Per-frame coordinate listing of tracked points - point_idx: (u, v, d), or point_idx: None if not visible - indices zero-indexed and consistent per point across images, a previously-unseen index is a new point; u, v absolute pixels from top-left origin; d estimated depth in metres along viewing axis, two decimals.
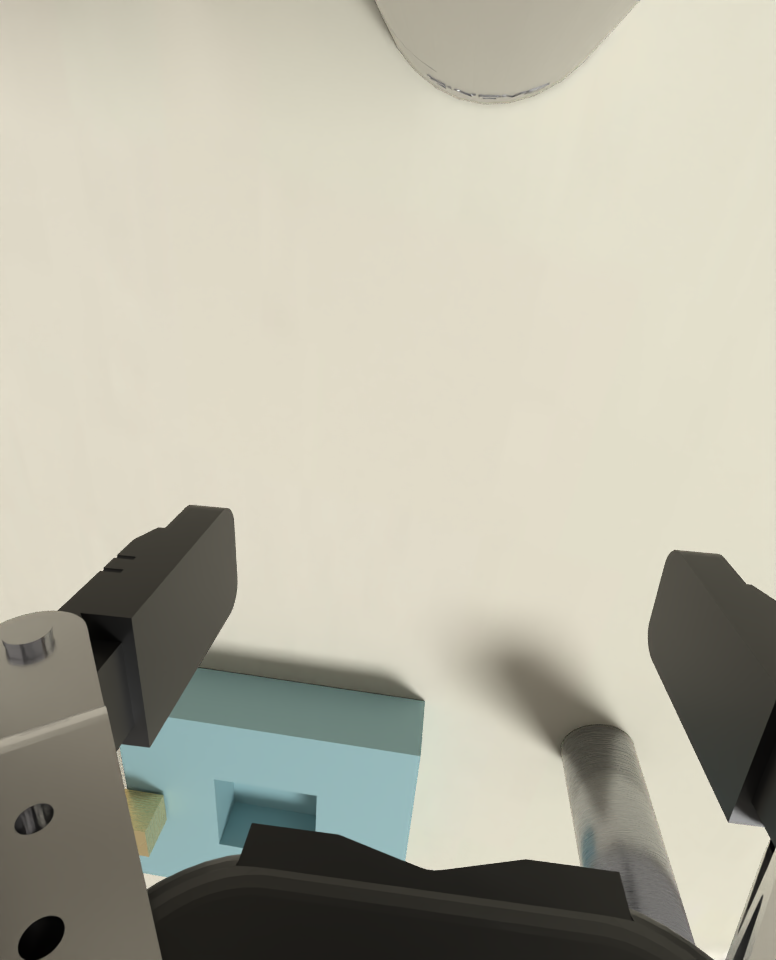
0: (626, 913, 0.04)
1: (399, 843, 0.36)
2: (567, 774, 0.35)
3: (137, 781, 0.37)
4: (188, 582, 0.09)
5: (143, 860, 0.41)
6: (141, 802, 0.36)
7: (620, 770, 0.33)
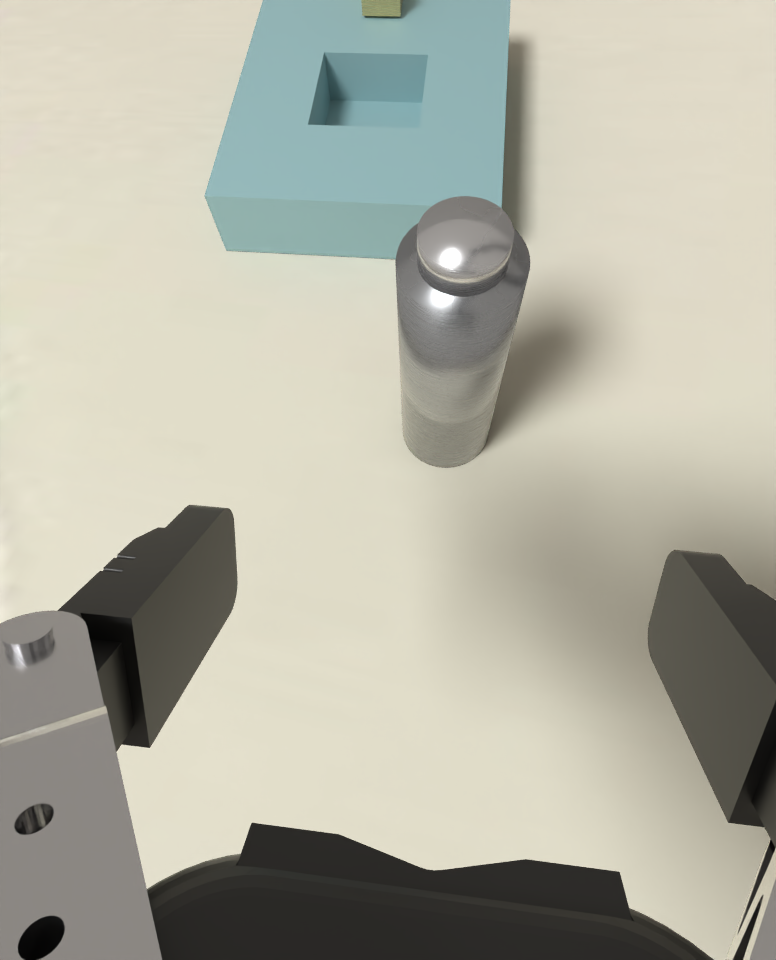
0: (626, 913, 0.04)
1: (349, 195, 0.31)
2: None
3: (413, 3, 0.38)
4: (188, 582, 0.09)
5: None
6: None
7: None
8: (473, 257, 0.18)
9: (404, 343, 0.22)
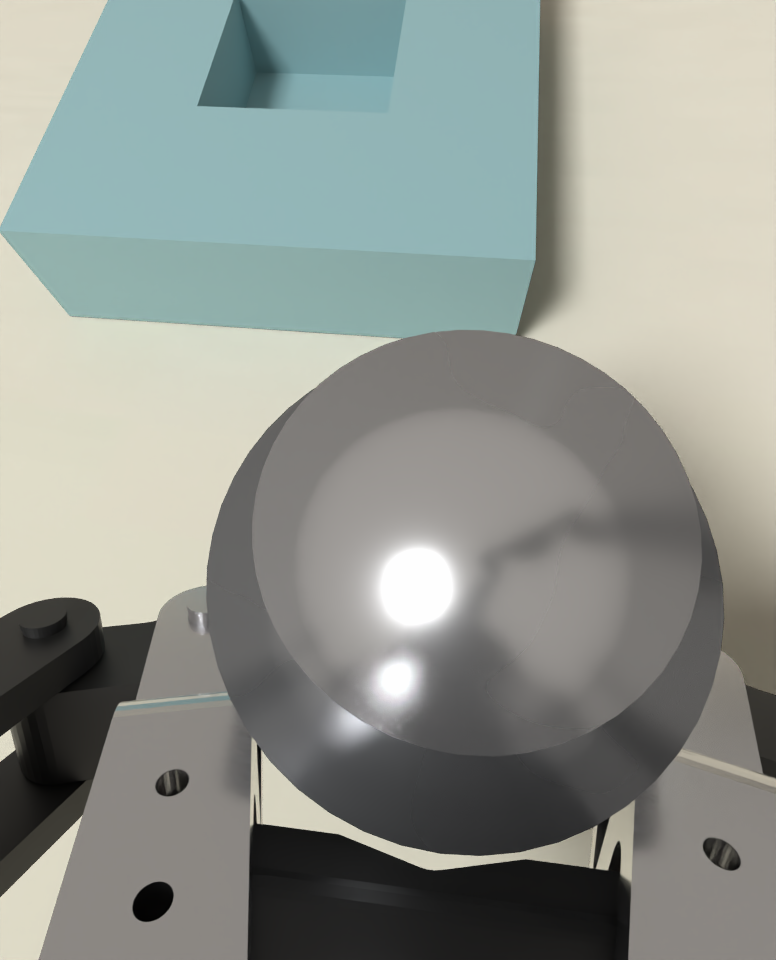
0: None
1: (257, 232, 0.17)
2: None
3: None
4: None
5: None
6: None
7: None
8: (513, 669, 0.04)
9: None
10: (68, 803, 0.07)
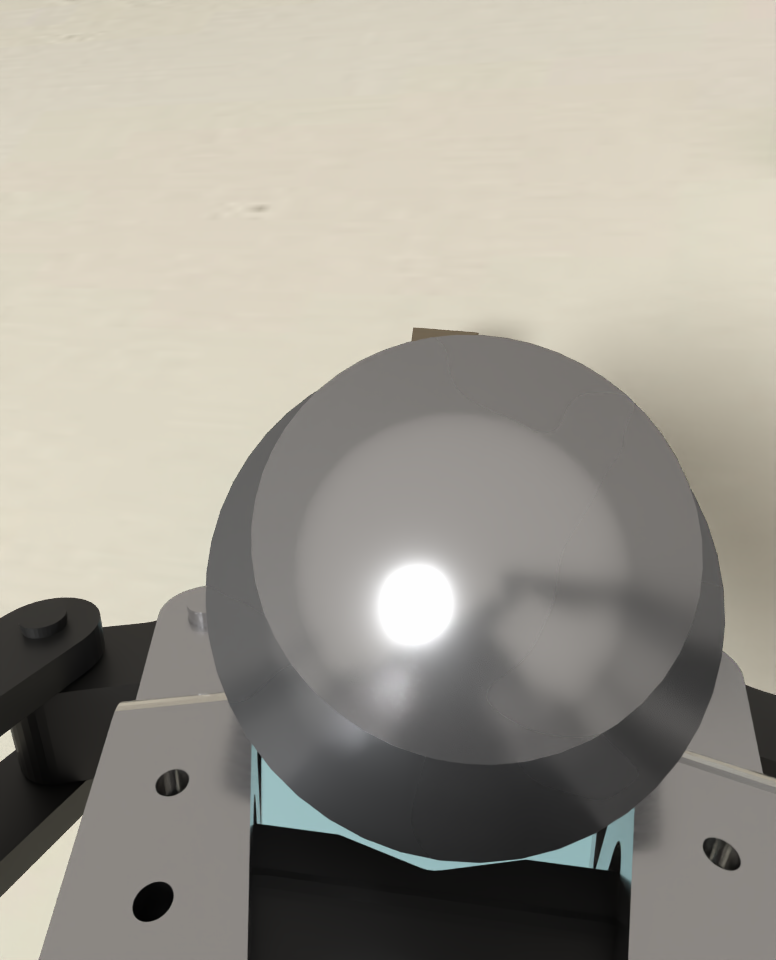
0: None
1: (390, 850, 0.23)
2: None
3: None
4: None
5: None
6: None
7: None
8: (513, 677, 0.04)
9: None
10: (68, 803, 0.07)
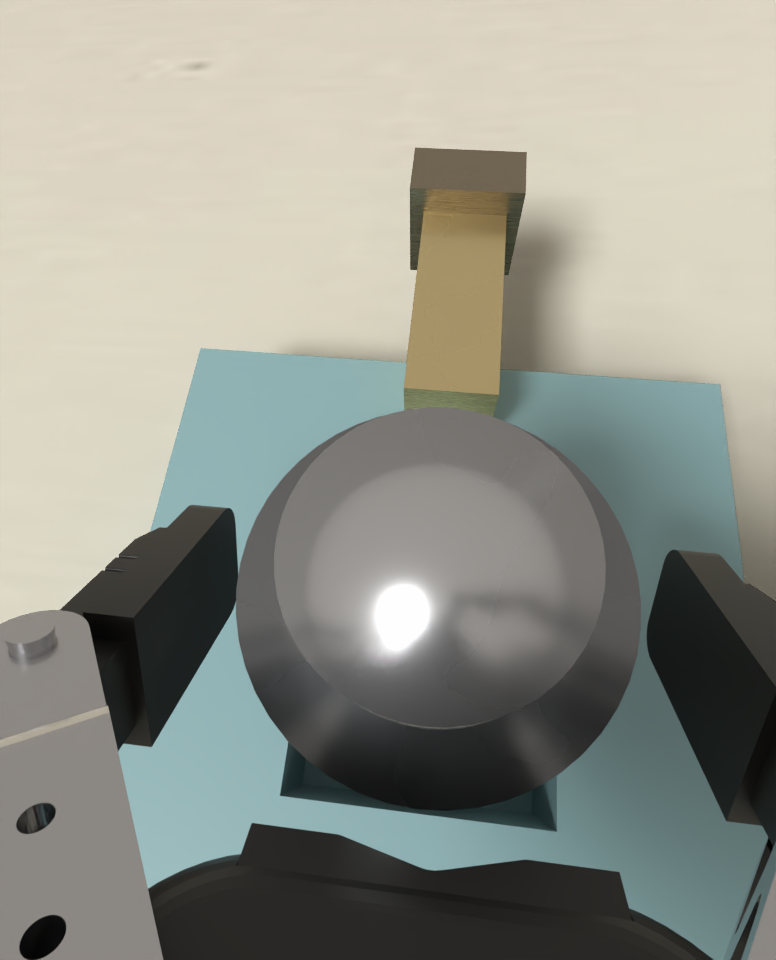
0: (626, 913, 0.04)
1: None
2: None
3: (511, 392, 0.18)
4: (190, 581, 0.09)
5: (244, 357, 0.19)
6: None
7: None
8: (464, 666, 0.05)
9: None
10: None
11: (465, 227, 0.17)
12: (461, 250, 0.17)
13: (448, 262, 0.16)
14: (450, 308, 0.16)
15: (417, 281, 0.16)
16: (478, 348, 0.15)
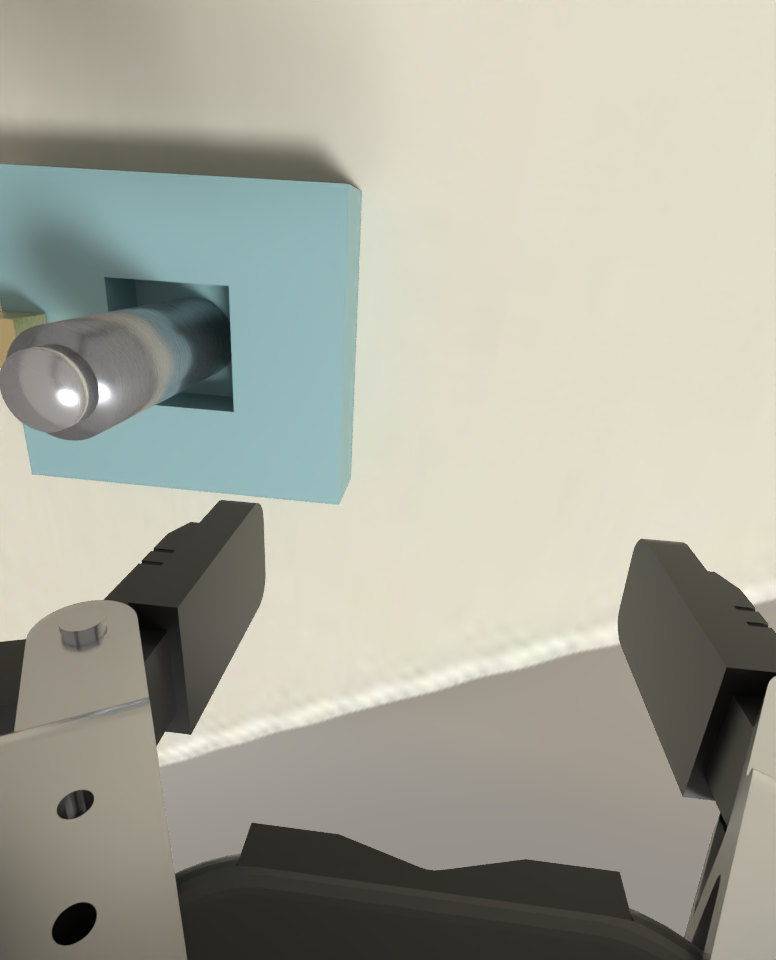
0: (625, 913, 0.04)
1: (334, 361, 0.30)
2: None
3: (14, 297, 0.30)
4: (224, 574, 0.09)
5: (31, 450, 0.33)
6: (16, 313, 0.30)
7: (171, 302, 0.29)
8: (64, 386, 0.21)
9: (138, 413, 0.25)
10: None
11: None
12: None
13: None
14: None
15: None
16: None
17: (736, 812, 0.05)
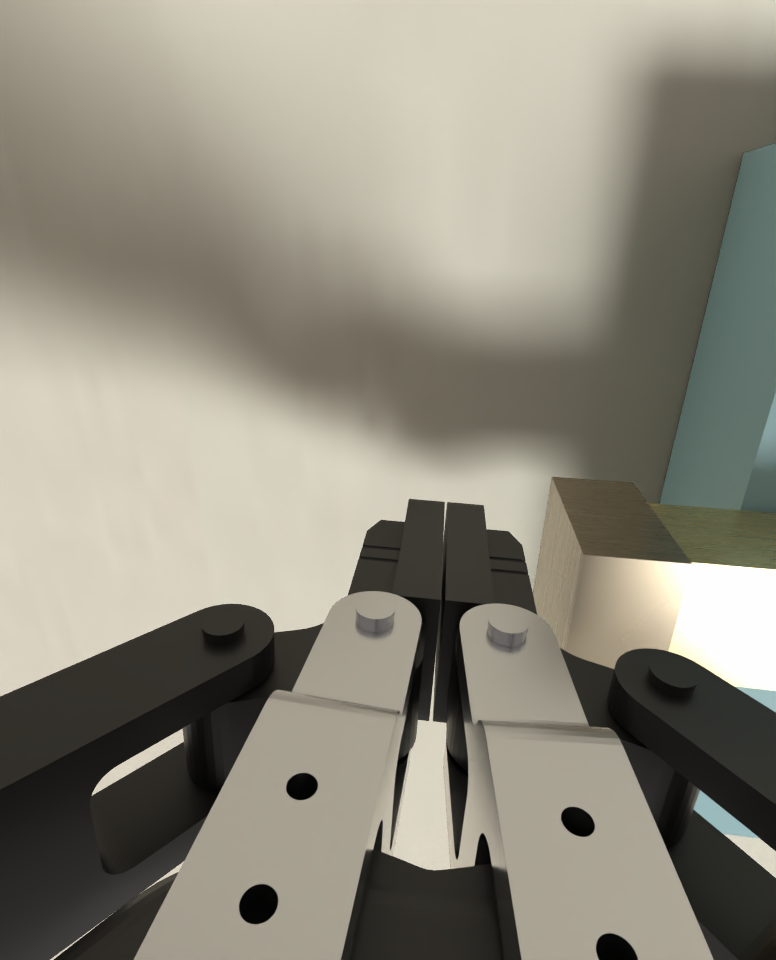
0: None
1: None
2: None
3: None
4: None
5: None
6: None
7: None
8: None
9: None
10: None
11: (685, 621, 0.10)
12: (736, 629, 0.10)
13: (758, 648, 0.10)
14: None
15: None
16: None
17: (477, 765, 0.06)
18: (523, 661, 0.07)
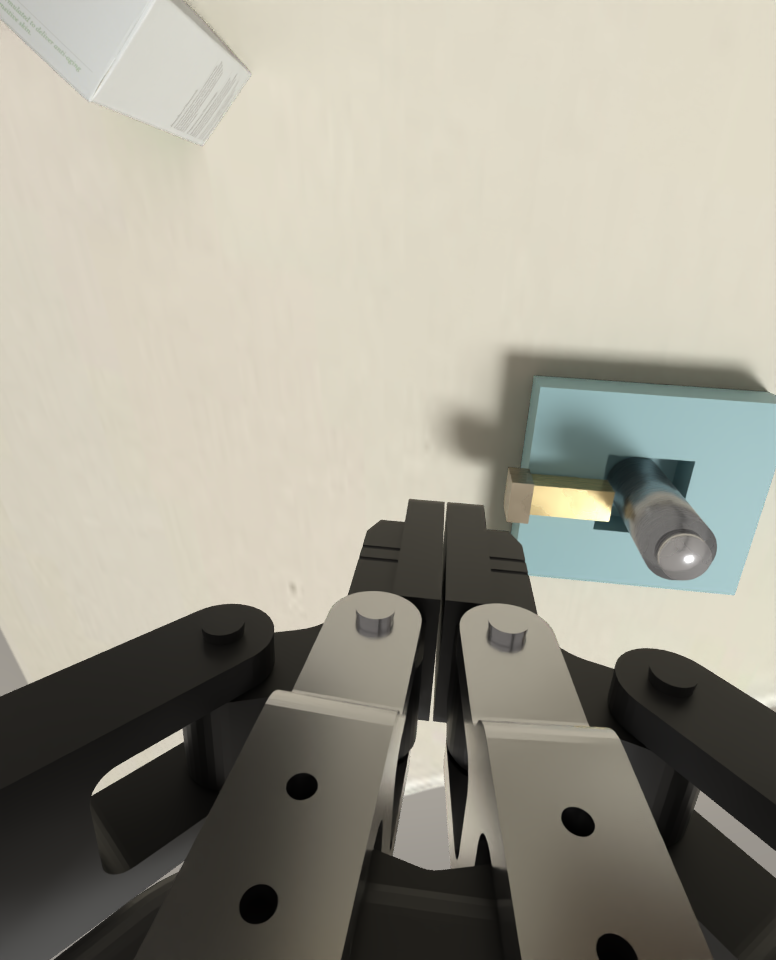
0: None
1: (756, 506, 0.45)
2: (614, 482, 0.46)
3: (539, 465, 0.46)
4: None
5: None
6: (595, 482, 0.45)
7: (657, 471, 0.45)
8: (703, 559, 0.36)
9: None
10: None
11: (537, 500, 0.44)
12: (548, 501, 0.44)
13: (554, 506, 0.44)
14: (576, 506, 0.44)
15: (562, 517, 0.44)
16: (595, 498, 0.43)
17: (477, 765, 0.06)
18: (524, 661, 0.07)
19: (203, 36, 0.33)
